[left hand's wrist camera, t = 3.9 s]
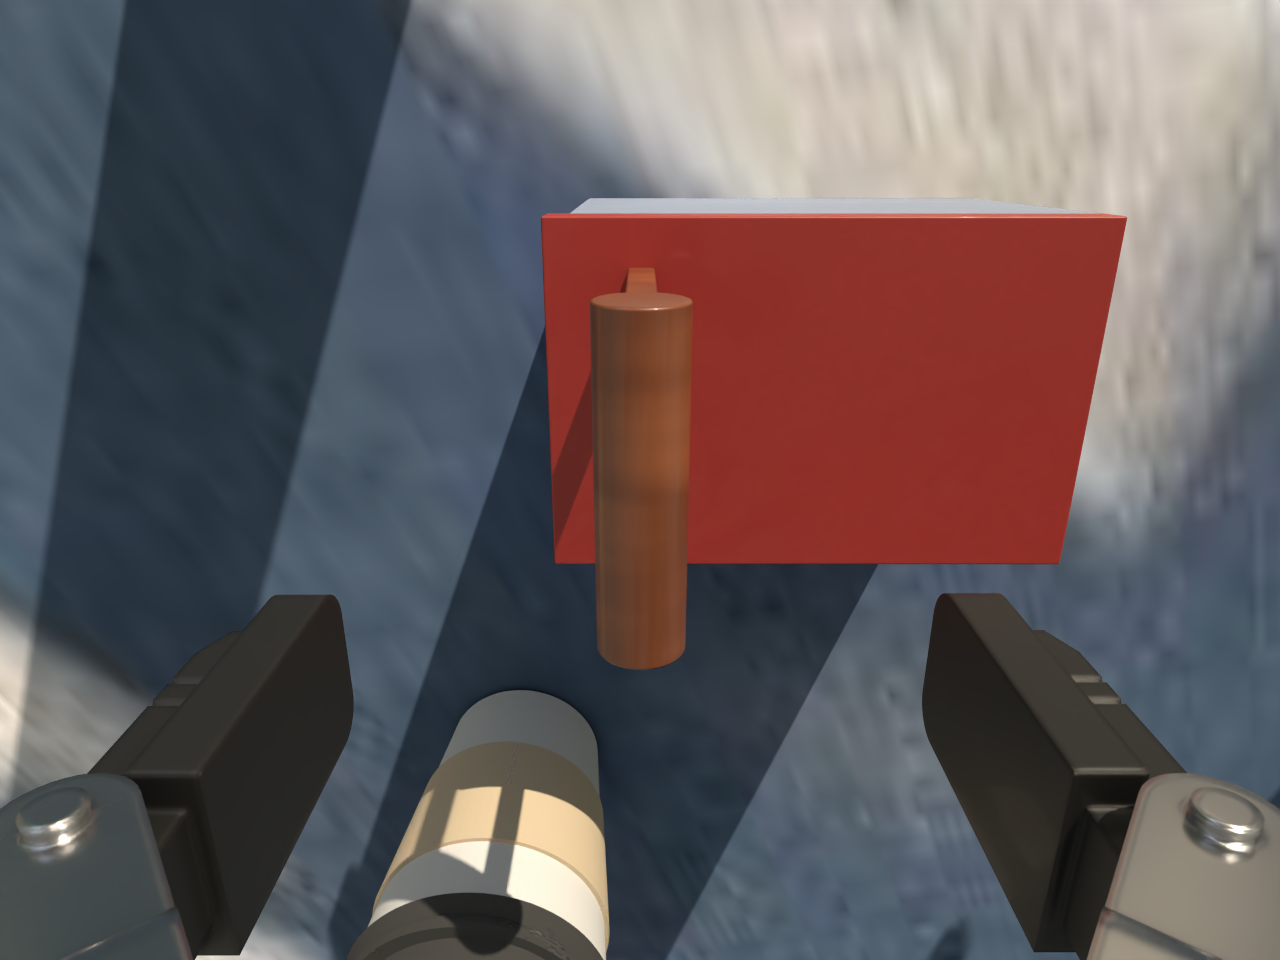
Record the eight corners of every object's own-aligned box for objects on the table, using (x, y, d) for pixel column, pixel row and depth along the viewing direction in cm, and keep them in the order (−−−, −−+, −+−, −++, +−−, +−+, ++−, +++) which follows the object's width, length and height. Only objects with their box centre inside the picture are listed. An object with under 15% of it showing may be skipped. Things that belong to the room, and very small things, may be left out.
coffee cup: (539, 855, 42) (489, 1202, 28) (391, 757, 40) (257, 1079, 26) (660, 744, 40) (671, 1062, 26) (509, 633, 38) (432, 914, 24)
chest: (593, 449, 35) (577, 545, 26) (587, 198, 31) (567, 213, 23) (941, 450, 35) (1039, 545, 26) (974, 198, 31) (1102, 213, 23)
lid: (558, 546, 26) (522, 715, 18) (545, 213, 23) (493, 242, 15) (1041, 546, 26) (1216, 716, 18) (1102, 213, 23) (1353, 243, 15)
